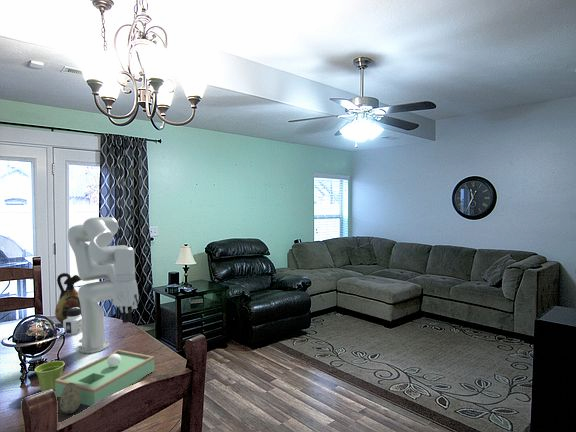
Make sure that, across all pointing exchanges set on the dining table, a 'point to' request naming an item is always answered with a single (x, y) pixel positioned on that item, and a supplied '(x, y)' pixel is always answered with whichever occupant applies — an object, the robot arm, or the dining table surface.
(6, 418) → the dining table surface
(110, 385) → the putting tray
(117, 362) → the ball
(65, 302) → the ceramic jug
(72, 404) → the decorative egg
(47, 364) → the plant pot
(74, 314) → the container
